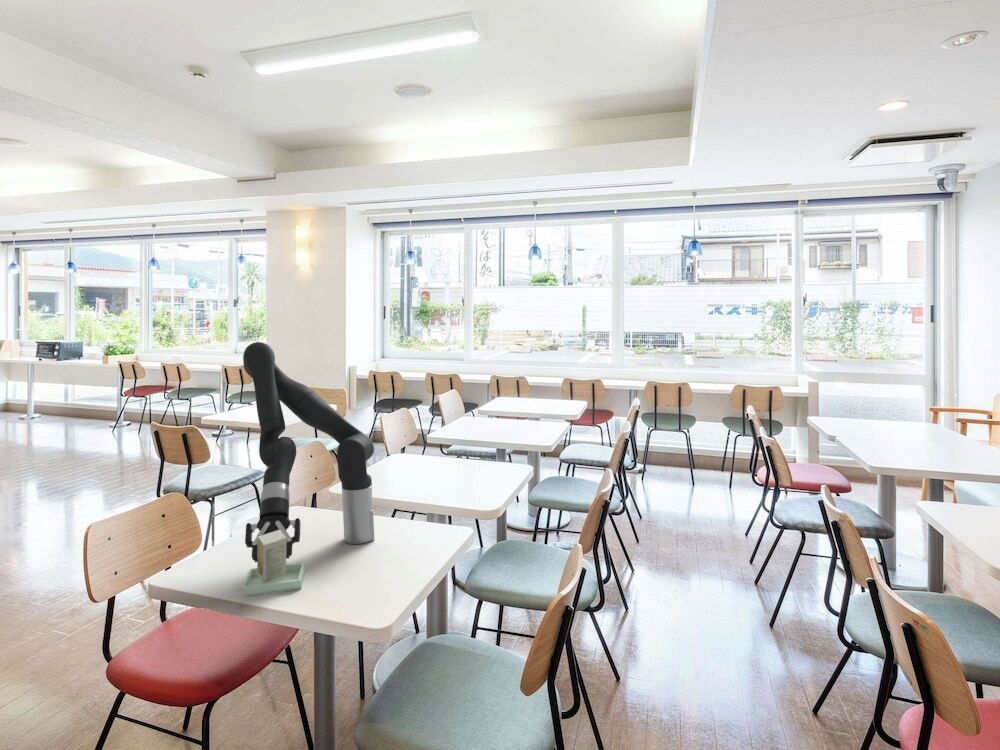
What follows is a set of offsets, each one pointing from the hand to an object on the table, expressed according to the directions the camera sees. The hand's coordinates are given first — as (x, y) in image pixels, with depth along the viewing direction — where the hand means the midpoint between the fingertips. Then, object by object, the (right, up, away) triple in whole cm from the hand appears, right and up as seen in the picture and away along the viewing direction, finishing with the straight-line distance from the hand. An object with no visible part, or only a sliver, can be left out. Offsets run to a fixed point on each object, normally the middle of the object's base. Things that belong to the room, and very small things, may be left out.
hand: (271, 559), depth 149 cm
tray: (0, -7, +2) cm, 8 cm away
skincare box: (-1, -5, +2) cm, 5 cm away
